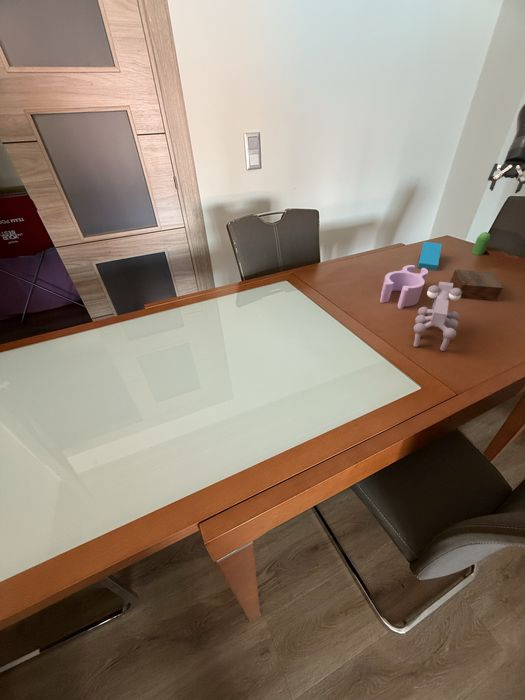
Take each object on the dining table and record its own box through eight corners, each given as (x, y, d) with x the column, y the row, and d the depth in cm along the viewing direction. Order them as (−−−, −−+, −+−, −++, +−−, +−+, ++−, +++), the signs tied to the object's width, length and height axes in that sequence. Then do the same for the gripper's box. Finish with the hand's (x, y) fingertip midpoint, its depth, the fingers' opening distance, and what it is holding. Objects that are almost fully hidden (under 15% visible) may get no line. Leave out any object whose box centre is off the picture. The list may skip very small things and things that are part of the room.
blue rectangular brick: (432, 279, 126) (437, 252, 134) (438, 265, 120) (442, 238, 129) (414, 276, 128) (420, 250, 137) (419, 263, 122) (425, 236, 131)
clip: (397, 279, 117) (402, 262, 113) (430, 289, 110) (437, 271, 106) (373, 299, 106) (377, 281, 102) (408, 311, 99) (414, 293, 95)
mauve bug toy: (416, 311, 99) (429, 273, 91) (452, 319, 95) (469, 279, 87) (406, 345, 86) (421, 304, 77) (448, 356, 82) (468, 314, 73)
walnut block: (485, 284, 111) (491, 272, 108) (496, 301, 102) (503, 287, 99) (450, 281, 114) (454, 269, 111) (457, 297, 105) (462, 284, 102)
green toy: (481, 251, 134) (490, 230, 129) (484, 255, 131) (494, 234, 125) (470, 250, 135) (478, 230, 130) (473, 254, 132) (481, 234, 126)
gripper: (501, 145, 122) (486, 183, 123) (544, 146, 116) (528, 187, 117) (495, 157, 129) (481, 194, 130) (536, 159, 123) (521, 198, 124)
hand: (504, 190), depth 124 cm, fingers open, 8 cm apart
